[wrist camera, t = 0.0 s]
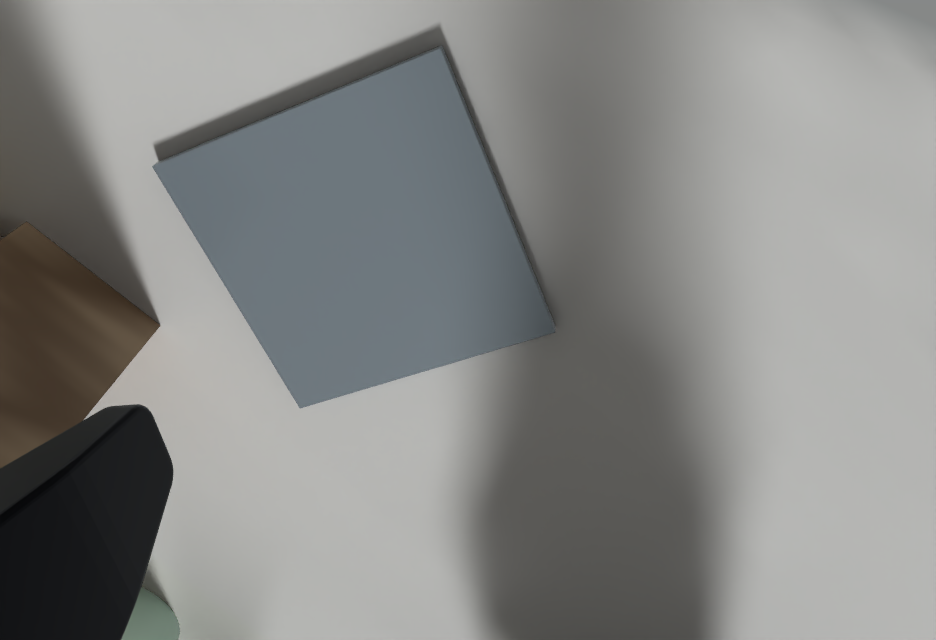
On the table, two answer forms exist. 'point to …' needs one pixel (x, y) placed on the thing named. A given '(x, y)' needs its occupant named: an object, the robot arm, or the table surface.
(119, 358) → the walnut block
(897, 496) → the table surface
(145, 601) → the pale green rounded piece
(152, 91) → the table surface
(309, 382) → the coaster
